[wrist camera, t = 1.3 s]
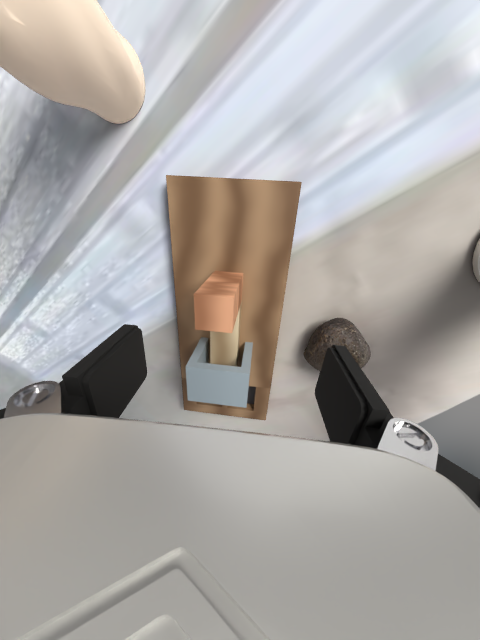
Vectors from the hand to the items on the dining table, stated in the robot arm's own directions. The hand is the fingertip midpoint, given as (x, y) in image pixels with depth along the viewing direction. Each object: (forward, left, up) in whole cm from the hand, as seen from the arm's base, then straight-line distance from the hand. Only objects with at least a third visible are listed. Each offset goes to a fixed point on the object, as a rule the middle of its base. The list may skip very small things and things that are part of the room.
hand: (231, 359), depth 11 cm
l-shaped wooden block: (+3, +10, -21) cm, 23 cm away
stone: (-13, +11, -23) cm, 29 cm away
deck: (+3, +9, -23) cm, 25 cm away
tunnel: (+3, +15, -21) cm, 26 cm away
